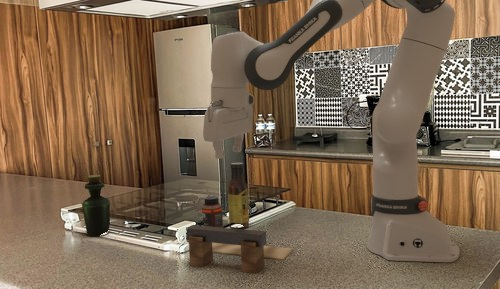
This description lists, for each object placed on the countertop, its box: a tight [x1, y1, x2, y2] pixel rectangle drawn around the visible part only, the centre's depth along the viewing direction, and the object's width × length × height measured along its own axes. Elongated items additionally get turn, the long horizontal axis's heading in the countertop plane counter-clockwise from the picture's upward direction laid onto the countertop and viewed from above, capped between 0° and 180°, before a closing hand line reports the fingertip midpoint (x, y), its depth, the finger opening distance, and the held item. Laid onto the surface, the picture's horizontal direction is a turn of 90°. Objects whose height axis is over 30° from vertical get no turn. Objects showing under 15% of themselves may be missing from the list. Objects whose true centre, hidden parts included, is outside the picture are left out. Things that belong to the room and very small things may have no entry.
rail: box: [185, 224, 267, 247], centre depth 123 cm, size 20×3×3 cm, turn 67°
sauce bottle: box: [227, 162, 250, 228], centre depth 157 cm, size 7×6×20 cm
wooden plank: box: [212, 243, 294, 261], centre depth 135 cm, size 24×8×1 cm, turn 67°
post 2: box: [240, 241, 265, 274], centre depth 121 cm, size 4×5×7 cm, turn 157°
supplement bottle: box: [201, 195, 224, 228], centre depth 150 cm, size 6×6×11 cm
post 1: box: [188, 236, 214, 268], centre depth 127 cm, size 4×5×7 cm, turn 157°
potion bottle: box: [81, 174, 111, 238], centre depth 155 cm, size 8×8×18 cm
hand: (228, 154), depth 126 cm, fingers open, 8 cm apart
